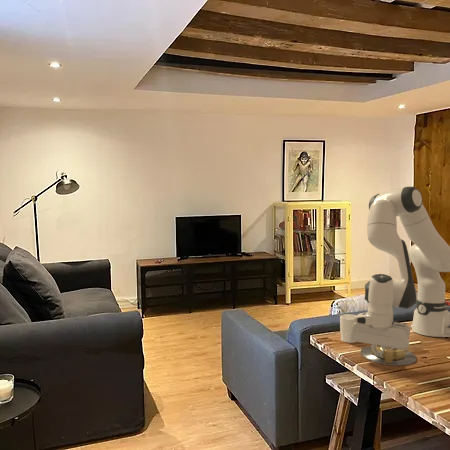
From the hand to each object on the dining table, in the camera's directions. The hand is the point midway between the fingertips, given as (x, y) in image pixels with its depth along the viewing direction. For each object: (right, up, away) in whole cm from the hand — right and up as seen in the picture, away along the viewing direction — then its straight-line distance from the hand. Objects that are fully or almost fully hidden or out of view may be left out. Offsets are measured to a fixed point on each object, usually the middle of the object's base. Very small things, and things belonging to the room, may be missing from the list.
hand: (378, 356), depth 169 cm
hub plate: (+6, -2, +7) cm, 9 cm away
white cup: (-4, 0, +24) cm, 24 cm away
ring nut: (+5, -1, +5) cm, 7 cm away
